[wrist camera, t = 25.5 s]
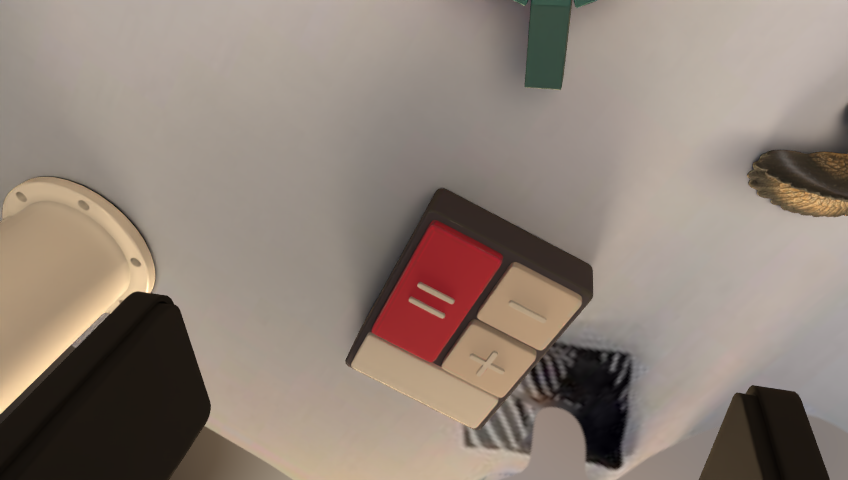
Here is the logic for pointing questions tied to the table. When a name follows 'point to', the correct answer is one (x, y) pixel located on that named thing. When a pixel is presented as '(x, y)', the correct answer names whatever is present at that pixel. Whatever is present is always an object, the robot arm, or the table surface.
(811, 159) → the eagle figurine
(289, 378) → the table surface
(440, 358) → the calculator
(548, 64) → the teal ring
